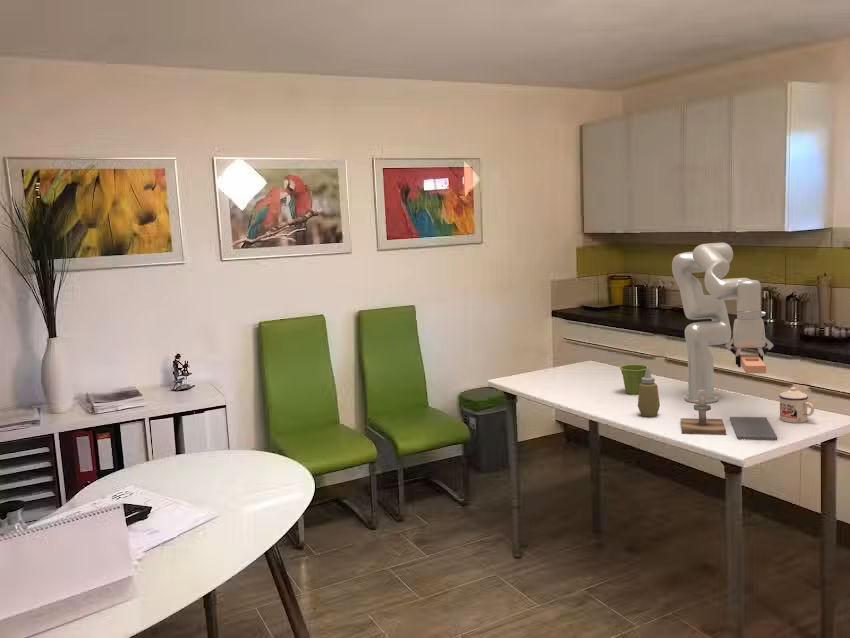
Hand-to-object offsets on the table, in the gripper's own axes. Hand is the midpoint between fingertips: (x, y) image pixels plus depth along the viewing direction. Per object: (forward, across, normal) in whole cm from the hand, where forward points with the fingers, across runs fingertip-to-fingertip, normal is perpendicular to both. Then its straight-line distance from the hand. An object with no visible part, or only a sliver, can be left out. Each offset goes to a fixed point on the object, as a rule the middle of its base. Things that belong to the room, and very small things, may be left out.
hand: (749, 366), depth 248 cm
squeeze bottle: (+21, +34, -9) cm, 41 cm away
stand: (+21, +16, +7) cm, 27 cm away
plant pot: (+21, +40, -44) cm, 63 cm away
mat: (+21, 0, +7) cm, 22 cm away
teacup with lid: (+21, -16, -5) cm, 27 cm away
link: (-1, 0, +7) cm, 7 cm away
